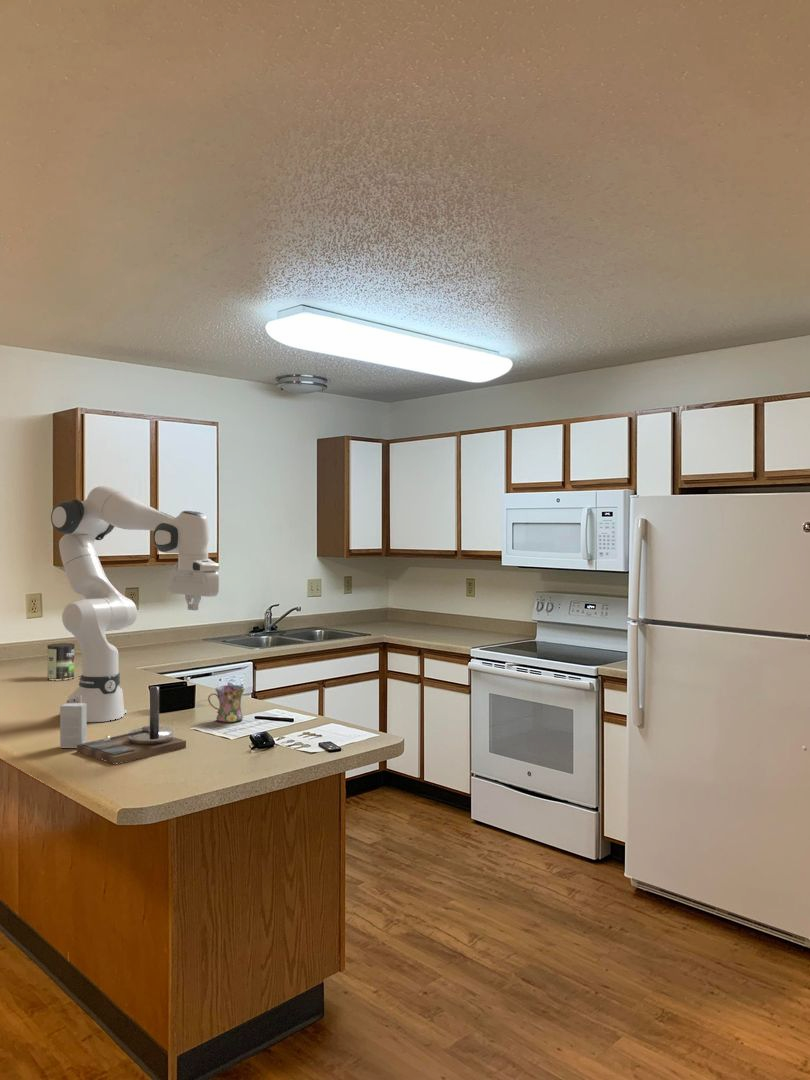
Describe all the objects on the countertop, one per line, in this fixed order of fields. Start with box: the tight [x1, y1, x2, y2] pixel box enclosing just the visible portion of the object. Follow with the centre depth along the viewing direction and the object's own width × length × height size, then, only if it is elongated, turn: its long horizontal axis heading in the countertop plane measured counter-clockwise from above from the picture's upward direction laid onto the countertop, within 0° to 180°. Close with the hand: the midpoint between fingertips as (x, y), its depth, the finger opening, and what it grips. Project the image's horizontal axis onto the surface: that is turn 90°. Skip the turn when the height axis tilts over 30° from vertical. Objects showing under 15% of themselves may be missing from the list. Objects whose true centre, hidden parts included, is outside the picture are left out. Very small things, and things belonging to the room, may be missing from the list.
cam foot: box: [103, 685, 174, 744], centre depth 223 cm, size 14×20×16 cm
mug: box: [207, 684, 246, 723], centre depth 259 cm, size 12×9×11 cm
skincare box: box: [59, 702, 88, 749], centre depth 226 cm, size 6×4×12 cm
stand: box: [76, 736, 187, 765], centre depth 224 cm, size 19×22×2 cm
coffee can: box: [47, 642, 76, 679], centre depth 330 cm, size 10×10×14 cm
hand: (192, 610), depth 244 cm, fingers closed
